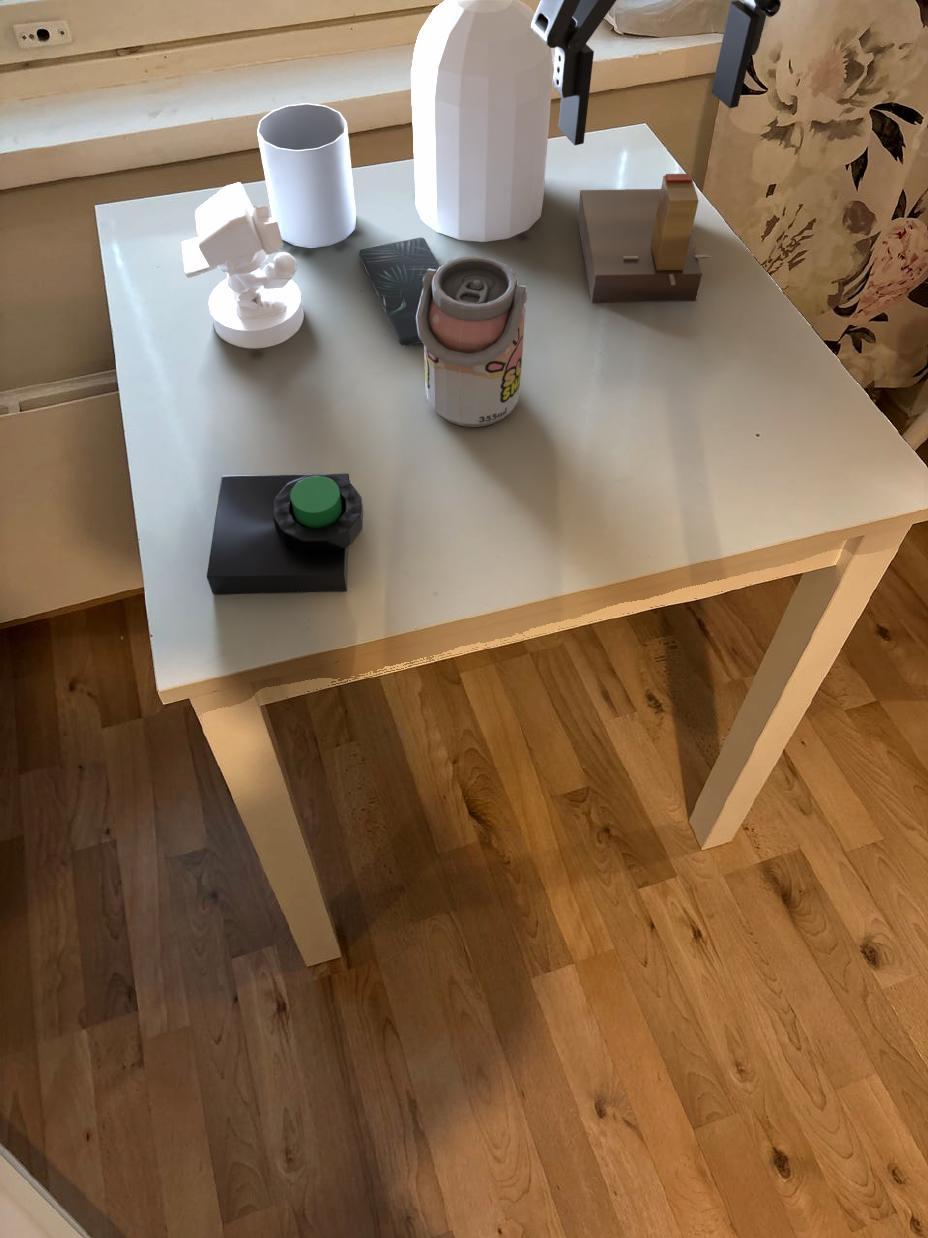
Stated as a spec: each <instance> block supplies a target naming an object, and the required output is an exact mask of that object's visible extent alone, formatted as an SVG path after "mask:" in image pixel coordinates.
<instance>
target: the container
mask: <svg viewBox="0 0 928 1238" xmlns="http://www.w3.org/2000/svg"><path fill="white" fill-rule="evenodd" d="M535 13H536V12H534V10H533V9H532V7H531V6H530V5H528V4H526V3H525V2H524V1H522V0H444V1H442V2H441V3H440V4H439V5H437V6H435V8H433V10H432V12H431V13H430V15H429V16H428V18H427V19H426V21H425V23H424V24H423V26H422V27H421V29H420V31H419V33H418V36H417V39H416V41H415V42H416V43H415V45H414V51H413V57H412V66H411V71H410V82H411V107H412V108H411V110H412V133H413V134H412V135H413V161H414V164H413V165H414V184H415V185H414V188H415V207H416V210H417V212H418V214H419V216H420V219H421V221H422V222H424V223H425V224H426V225H427V226H428V227H430V228H431V229H432V230H434V231H435V232H436V233H438V234H441V235H444V236H447V237H451V238H452V239H455V240H458V241H468V242H480V243H487V242H493V241H500V240H507V239H510V238H513V237H516V236H517V235H519V234H521V233H523V232H526V231H528V230H530V229H531V227H533V225H535V223H536V222H537V221H538V220H539V219H540V218H541V217H542V210H543V204H544V203H543V202H544V193H545V191H544V190H545V180H546V168H547V157H548V156H547V155H548V145H549V143H548V142H549V131H550V117H551V105H552V92H553V76H554V61H553V53H552V48H550V47H549V46H548V45H547V44H546V43H545V42H544V41H543V40H542V39H541V38H540V37H539V36H538V35H537V34H536V33H535V32H534V31H533V30H532V28H531V23H532V20H533V17H534V15H535Z"/></svg>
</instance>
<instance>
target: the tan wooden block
mask: <svg viewBox="0 0 928 1238" xmlns="http://www.w3.org/2000/svg"><path fill="white" fill-rule="evenodd" d="M693 180H694V179H693V177H692V175H691V173H665V175H663V176H662V181H661V186H660V189H661V192H660V197H659V202H658V208H657V213H656V218H655V224H654V229H653V234H652V240H651V249H652V253H653V257H654V261H655V265H656V270H683V268H684V264H685V259H686V255H687V250H688V246H689V241H690V237H691V235H692V232H693V228H694V224H695V219H696V214H697V210H698V206H699V201H700V200H699V197H698V194H697V191H696V188H695V185H694V184H695V183H694V181H693Z"/></svg>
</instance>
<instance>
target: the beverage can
mask: <svg viewBox="0 0 928 1238" xmlns="http://www.w3.org/2000/svg"><path fill="white" fill-rule="evenodd" d="M423 285H424V287H423V290H422V294H421V298H420V302H419V306H418V311H417V315H416V323H417V330H418V337H419V338H420V340H421V341H422V342H421V343H422V344H423V354H424V380H425V381H424V382H425V383H424V384H425V395H426V398H427V402H428V404H429V405H430V407H431V408H432V410H433V411H434V412H435V414H437V415H438V416H440V417H441V418H442V419H444V420H446V421H447V422H449V423H451V424H454V425H457V426H460V427H464V428H465V427H466V428H480V427H487V426H489V425H493V424H495V423H497V422H499V421H502V420H503V419H504V418H505V417H507V416H508V415H509V414H511V413H512V411H514V409H515V407H516V406H517V403H518V402H519V399H520V393H521V392H520V391H521V381H522V380H521V379H522V378H521V377H522V363H523V352H524V351H523V348H524V334H525V322H526V321H525V320H526V319H525V318H526V307H525V303H526V302H527V301H528V294H527V285H523V284H518V279H517V276H516V273H515V272H514V271H513V270H512V269H511V268H510V267H509V266H508V265H506V264H505V263H503V262H501V261H500V260H497V259H494V258H490V257H487V256H477V255H476V256H475V255H471V256H463V257H462V256H461V257H458V258H455V259H453V260H452V259H451V260H449V261H447V262H446V263H444V264H443V265H441V266H439V268H438V270H434V269H428V270H427V272H426V274H425V276H424V277H423Z"/></svg>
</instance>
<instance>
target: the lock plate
mask: <svg viewBox="0 0 928 1238" xmlns="http://www.w3.org/2000/svg"><path fill="white" fill-rule="evenodd" d="M660 192H661V188H648V189H647V188H641V189H639V188H638V189H636V188H635V189H633V188H632V189H631V188H630V189H629V188H628V189H580V190H579V196H578V197H579V198H578V207H577V213H576V214H577V216H576V218H577V223H578V224H577V225H578V228H579V229H578V231H579V235H580V241H581V248H582V253H583V259H584V265H585V270H586V277H587V282H588V288H589V295H590V299H591V303H639V302H640V303H641V302H642V303H643V302H644V303H645V302H646V303H647V302H695V301H697V298H698V293H699V290H700V286H701V282H702V277H703V271H702V268H701V263H700V261H699V259H700V260H701V259H711V255H710V254H697V250H696V246H695V243H694V240H693V235H692V234H691V237H690V241H689V246H688V250H687V255H686V259H685V264H684V268H683V270H656V265H655V261H654V257H653V253H652V249H651V240H652V234H653V229H654V224H655V218H656V213H657V208H658V202H659V197H660Z"/></svg>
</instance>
